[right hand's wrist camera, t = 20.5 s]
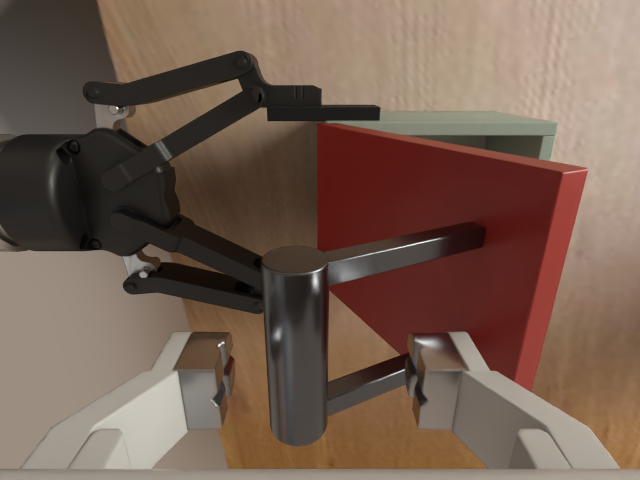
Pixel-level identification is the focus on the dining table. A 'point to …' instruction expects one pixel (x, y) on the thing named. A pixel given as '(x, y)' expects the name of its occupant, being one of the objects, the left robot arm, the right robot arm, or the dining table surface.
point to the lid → (414, 265)
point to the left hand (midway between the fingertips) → (372, 193)
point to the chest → (471, 130)
